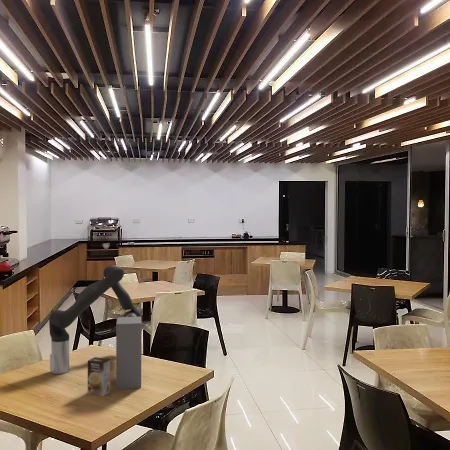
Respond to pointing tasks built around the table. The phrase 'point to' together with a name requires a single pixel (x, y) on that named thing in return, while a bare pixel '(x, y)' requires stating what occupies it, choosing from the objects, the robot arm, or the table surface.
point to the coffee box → (98, 376)
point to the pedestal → (128, 352)
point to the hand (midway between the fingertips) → (130, 328)
